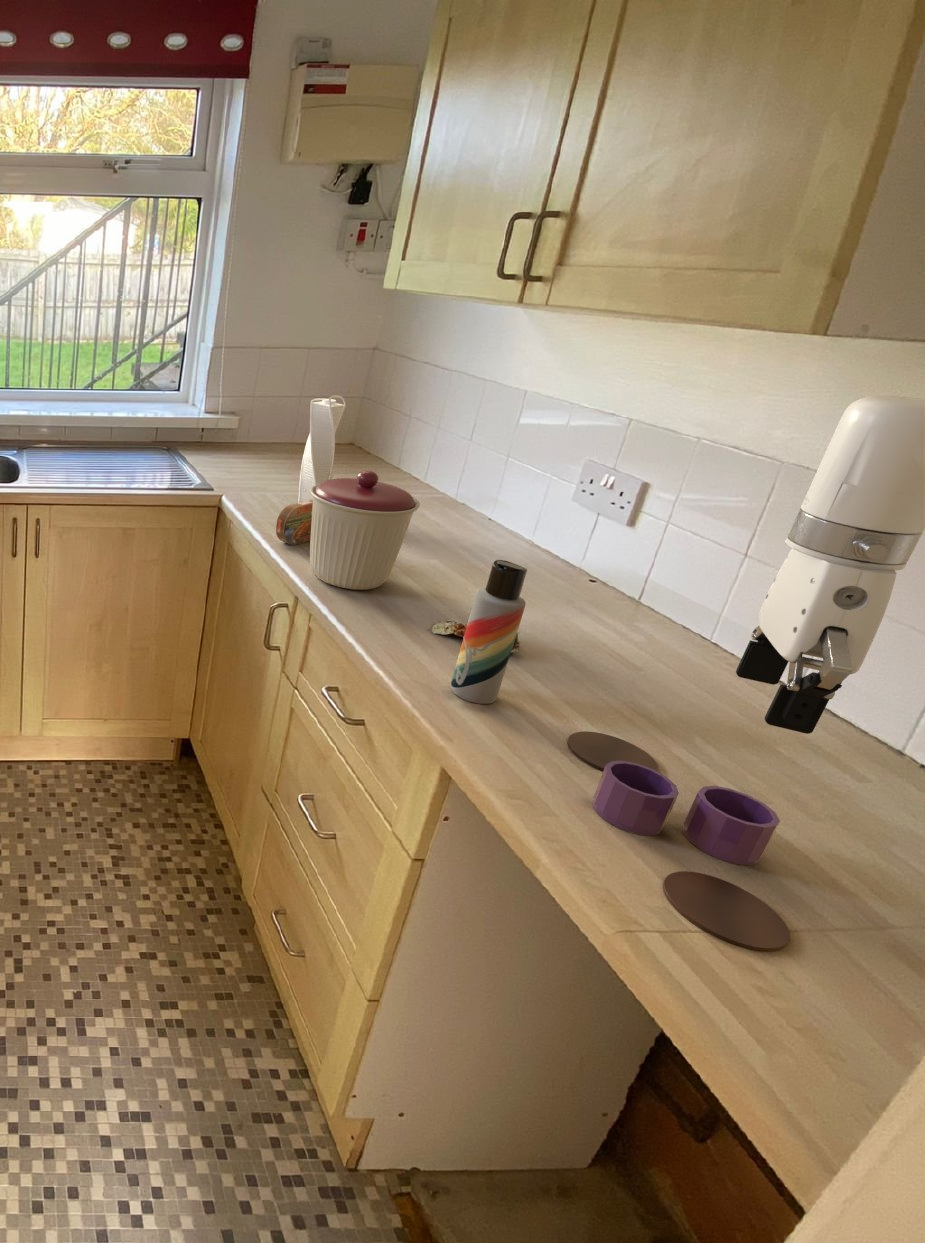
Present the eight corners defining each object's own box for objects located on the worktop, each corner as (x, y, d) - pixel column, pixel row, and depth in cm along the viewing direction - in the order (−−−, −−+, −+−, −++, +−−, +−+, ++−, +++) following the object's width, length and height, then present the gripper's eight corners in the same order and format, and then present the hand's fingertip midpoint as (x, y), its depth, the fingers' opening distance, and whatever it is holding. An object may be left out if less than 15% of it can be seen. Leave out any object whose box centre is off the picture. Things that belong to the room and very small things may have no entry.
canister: (351, 556, 154) (372, 455, 146) (422, 593, 138) (450, 482, 130) (276, 565, 149) (293, 461, 141) (340, 605, 133) (364, 489, 125)
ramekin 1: (656, 809, 85) (671, 772, 83) (667, 844, 80) (684, 806, 78) (588, 789, 88) (602, 754, 86) (595, 822, 83) (610, 785, 81)
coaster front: (771, 898, 74) (773, 895, 74) (803, 968, 66) (805, 965, 66) (654, 861, 78) (656, 858, 78) (672, 923, 71) (673, 920, 71)
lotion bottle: (440, 686, 108) (475, 557, 101) (470, 680, 110) (507, 552, 103) (474, 707, 103) (514, 573, 96) (505, 701, 105) (547, 569, 98)
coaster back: (650, 748, 96) (651, 745, 96) (663, 789, 89) (665, 786, 88) (564, 726, 100) (564, 723, 100) (570, 763, 93) (571, 760, 93)
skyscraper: (330, 519, 175) (353, 397, 164) (293, 515, 177) (314, 394, 166) (326, 507, 182) (348, 390, 172) (291, 504, 184) (310, 388, 174)
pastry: (435, 622, 127) (440, 602, 126) (519, 644, 121) (526, 624, 119) (427, 637, 122) (433, 617, 121) (515, 661, 115) (522, 641, 114)
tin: (282, 548, 157) (288, 509, 154) (270, 543, 160) (276, 505, 157) (329, 536, 164) (336, 499, 161) (317, 531, 167) (324, 495, 164)
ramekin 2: (750, 836, 82) (768, 798, 80) (768, 874, 76) (788, 836, 75) (676, 814, 84) (692, 778, 83) (689, 850, 79) (706, 812, 78)
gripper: (960, 583, 59) (859, 763, 65) (868, 519, 73) (792, 674, 79) (828, 561, 62) (744, 735, 69) (764, 505, 76) (699, 654, 83)
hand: (770, 702), depth 74 cm, fingers open, 9 cm apart
